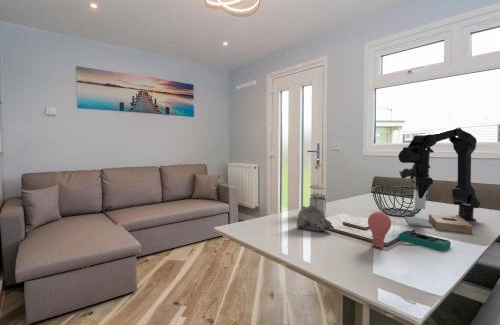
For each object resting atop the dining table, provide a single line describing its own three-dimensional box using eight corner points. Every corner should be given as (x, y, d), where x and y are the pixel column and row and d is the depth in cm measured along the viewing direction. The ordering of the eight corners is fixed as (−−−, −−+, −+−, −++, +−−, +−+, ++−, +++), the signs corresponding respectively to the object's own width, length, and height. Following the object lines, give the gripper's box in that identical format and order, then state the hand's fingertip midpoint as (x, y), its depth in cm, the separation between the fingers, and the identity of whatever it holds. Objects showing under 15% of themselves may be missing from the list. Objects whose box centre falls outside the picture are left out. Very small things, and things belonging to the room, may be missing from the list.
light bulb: (384, 243, 96) (386, 210, 95) (393, 251, 89) (395, 215, 88) (363, 242, 97) (365, 209, 96) (370, 250, 90) (372, 214, 89)
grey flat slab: (405, 217, 132) (405, 216, 132) (426, 219, 128) (426, 218, 128) (409, 225, 119) (409, 224, 119) (432, 228, 116) (432, 226, 116)
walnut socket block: (428, 219, 129) (429, 213, 129) (459, 223, 124) (460, 216, 124) (436, 229, 114) (436, 222, 114) (472, 233, 109) (472, 226, 109)
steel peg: (413, 206, 126) (414, 188, 125) (423, 207, 124) (424, 189, 124) (414, 208, 122) (415, 190, 122) (425, 208, 121) (426, 190, 120)
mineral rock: (335, 233, 106) (336, 208, 106) (313, 237, 102) (313, 210, 101) (314, 224, 118) (314, 201, 117) (293, 227, 114) (293, 203, 113)
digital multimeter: (405, 236, 106) (406, 229, 106) (451, 248, 94) (451, 240, 94) (396, 240, 101) (397, 232, 101) (443, 253, 90) (443, 244, 89)
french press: (329, 213, 137) (331, 163, 135) (325, 219, 126) (327, 165, 124) (309, 211, 141) (311, 162, 139) (303, 216, 130) (305, 164, 129)
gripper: (398, 161, 134) (397, 192, 135) (403, 163, 116) (401, 199, 118) (425, 161, 129) (423, 194, 130) (434, 164, 112) (432, 202, 113)
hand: (419, 197), depth 123 cm, fingers closed on steel peg, 4 cm apart
